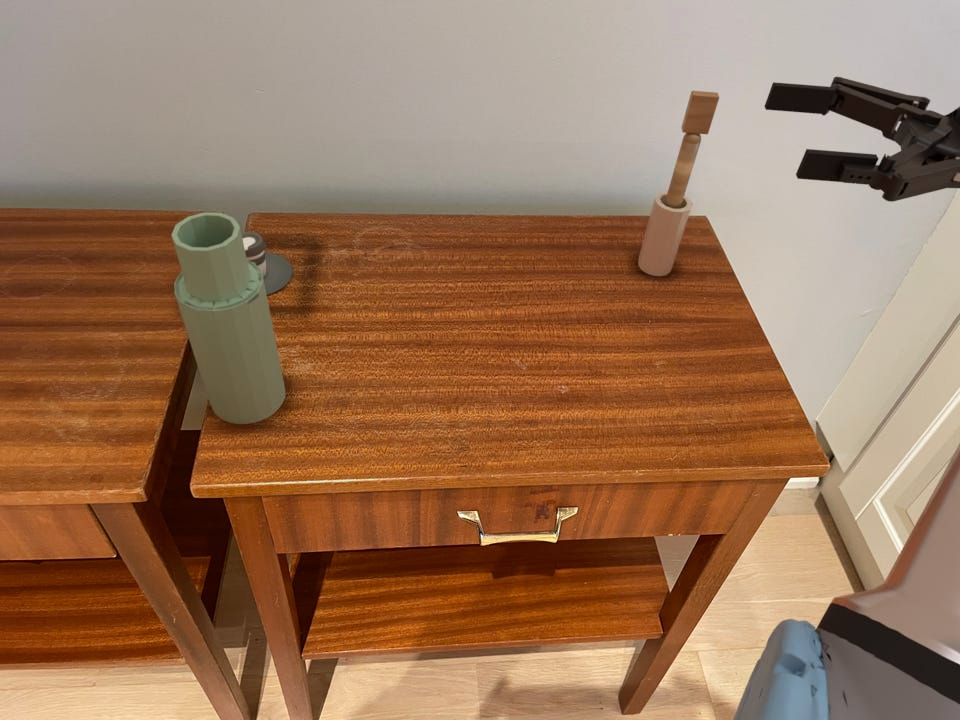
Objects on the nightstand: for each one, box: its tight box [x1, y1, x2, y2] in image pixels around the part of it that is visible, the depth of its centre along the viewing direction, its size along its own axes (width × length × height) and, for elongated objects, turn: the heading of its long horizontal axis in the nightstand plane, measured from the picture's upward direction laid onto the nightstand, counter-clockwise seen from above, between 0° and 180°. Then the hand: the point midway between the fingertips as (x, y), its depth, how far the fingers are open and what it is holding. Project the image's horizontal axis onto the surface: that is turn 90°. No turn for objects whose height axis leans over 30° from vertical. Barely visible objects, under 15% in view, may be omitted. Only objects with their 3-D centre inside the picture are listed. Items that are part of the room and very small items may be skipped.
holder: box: [637, 190, 694, 277], centre depth 83 cm, size 4×4×9 cm
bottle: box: [170, 211, 286, 425], centre depth 62 cm, size 7×7×19 cm
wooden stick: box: [664, 90, 720, 209], centre depth 78 cm, size 2×3×21 cm
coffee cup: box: [241, 231, 294, 296], centre depth 79 cm, size 12×12×5 cm
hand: (784, 127), depth 73 cm, fingers open, 13 cm apart
